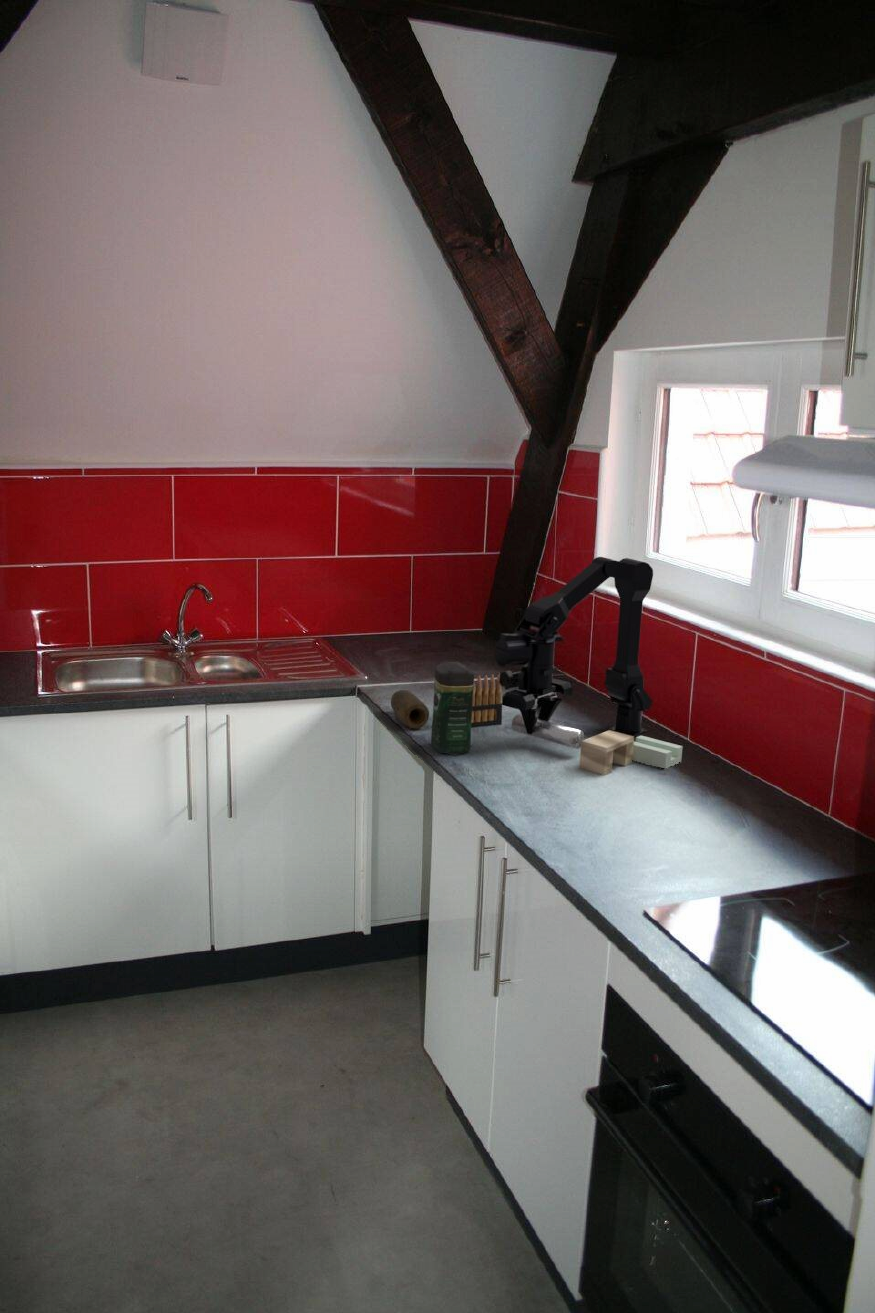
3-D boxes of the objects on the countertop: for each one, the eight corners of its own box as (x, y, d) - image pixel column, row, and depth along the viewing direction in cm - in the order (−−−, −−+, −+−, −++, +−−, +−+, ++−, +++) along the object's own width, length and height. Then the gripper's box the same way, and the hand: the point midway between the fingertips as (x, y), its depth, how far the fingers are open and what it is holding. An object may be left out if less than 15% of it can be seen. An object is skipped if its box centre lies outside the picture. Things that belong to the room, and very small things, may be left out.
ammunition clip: (497, 722, 255) (500, 672, 253) (501, 724, 254) (505, 674, 251) (457, 726, 251) (459, 675, 248) (461, 729, 249) (463, 677, 246)
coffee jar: (474, 755, 231) (479, 669, 227) (437, 756, 229) (441, 670, 225) (463, 741, 240) (467, 658, 236) (427, 742, 239) (431, 658, 234)
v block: (639, 750, 239) (640, 735, 239) (681, 762, 233) (682, 746, 232) (622, 757, 234) (624, 742, 233) (665, 769, 228) (666, 753, 227)
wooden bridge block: (607, 756, 235) (609, 730, 233) (631, 763, 231) (634, 736, 230) (579, 767, 227) (581, 741, 225) (604, 775, 223) (606, 748, 221)
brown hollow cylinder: (434, 730, 247) (435, 702, 246) (404, 732, 245) (405, 703, 243) (413, 711, 261) (414, 684, 259) (385, 713, 258) (386, 685, 257)
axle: (511, 733, 241) (512, 715, 240) (521, 729, 244) (523, 712, 243) (572, 750, 231) (574, 732, 230) (583, 746, 234) (584, 728, 233)
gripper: (534, 649, 247) (529, 715, 251) (483, 662, 233) (479, 732, 237) (576, 658, 241) (570, 726, 244) (526, 672, 227) (521, 744, 230)
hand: (535, 732), depth 239 cm, fingers closed on axle, 4 cm apart
